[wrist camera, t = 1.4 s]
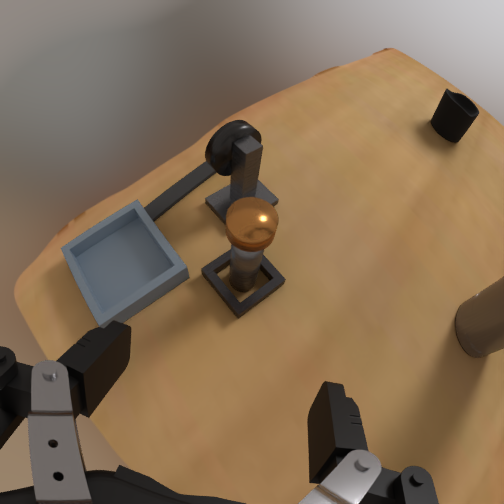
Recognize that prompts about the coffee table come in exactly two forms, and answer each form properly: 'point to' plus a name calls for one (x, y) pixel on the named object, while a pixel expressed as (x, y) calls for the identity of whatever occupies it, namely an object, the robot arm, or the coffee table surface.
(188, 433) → the coffee table surface
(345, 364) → the coffee table surface
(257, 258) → the pin
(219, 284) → the frame
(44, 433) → the robot arm
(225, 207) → the pulley stand
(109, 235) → the tray
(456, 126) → the pen holder
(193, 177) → the strip
